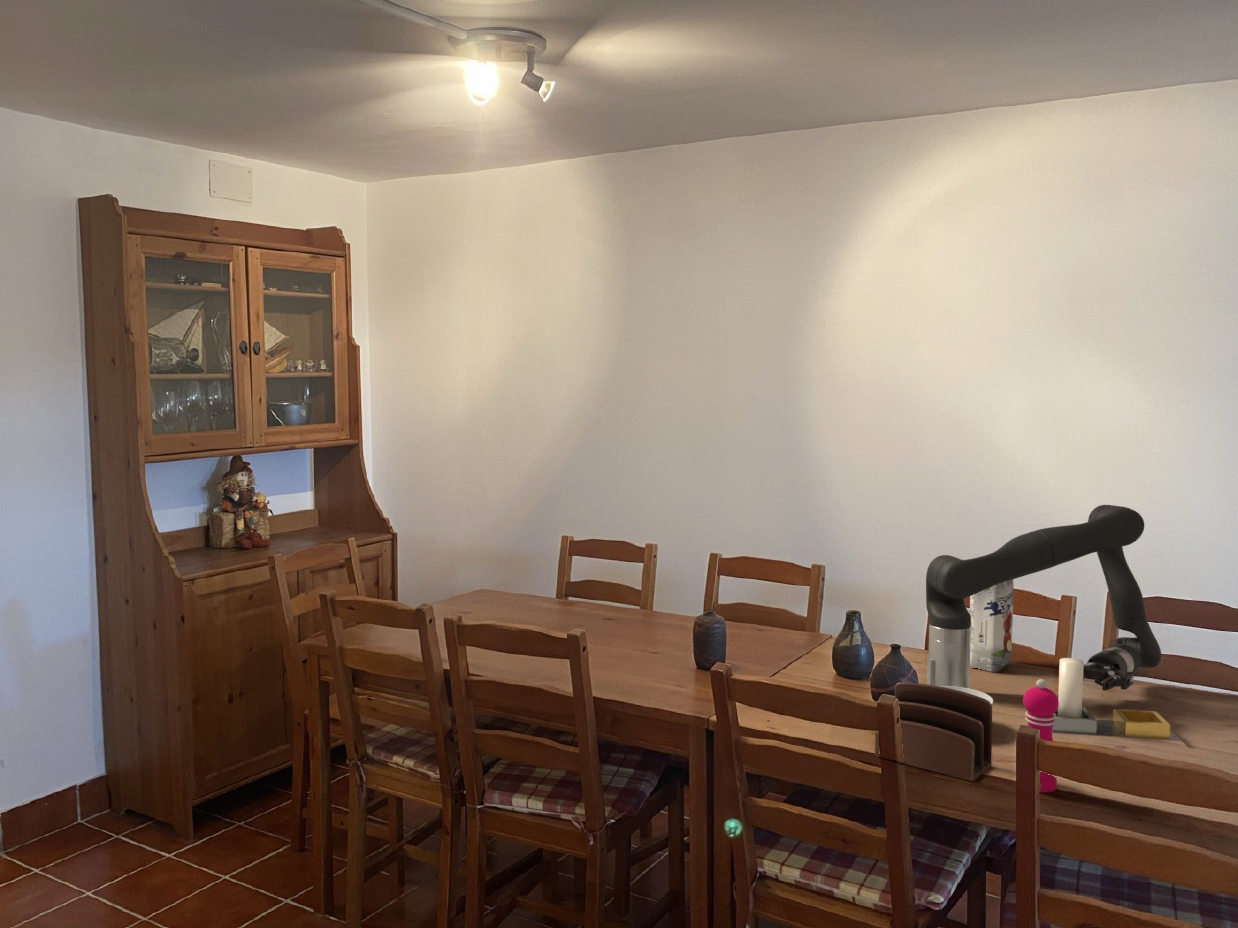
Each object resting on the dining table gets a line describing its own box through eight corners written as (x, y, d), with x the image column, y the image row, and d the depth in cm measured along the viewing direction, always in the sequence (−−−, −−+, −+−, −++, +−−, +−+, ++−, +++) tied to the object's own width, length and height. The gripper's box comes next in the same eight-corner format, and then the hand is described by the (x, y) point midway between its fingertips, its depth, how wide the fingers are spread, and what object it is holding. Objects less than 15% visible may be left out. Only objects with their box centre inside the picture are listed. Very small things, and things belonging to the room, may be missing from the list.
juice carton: (964, 668, 253) (967, 565, 251) (979, 659, 261) (982, 559, 259) (999, 674, 248) (1002, 569, 245) (1014, 665, 256) (1017, 563, 253)
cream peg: (1060, 728, 206) (1062, 663, 205) (1055, 721, 211) (1057, 657, 209) (1083, 729, 205) (1086, 664, 204) (1077, 722, 210) (1080, 658, 209)
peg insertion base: (1044, 737, 204) (1045, 718, 204) (1033, 721, 214) (1034, 703, 214) (1180, 745, 199) (1181, 726, 199) (1162, 728, 209) (1163, 710, 209)
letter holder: (895, 743, 202) (896, 676, 201) (992, 767, 189) (994, 695, 188) (873, 757, 194) (874, 687, 193) (973, 783, 182) (975, 709, 181)
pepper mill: (1009, 778, 183) (1012, 674, 182) (1046, 777, 184) (1050, 672, 182) (1028, 794, 176) (1032, 686, 174) (1067, 793, 177) (1071, 684, 175)
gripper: (1079, 644, 228) (1050, 657, 217) (1145, 656, 218) (1119, 671, 207) (1077, 675, 229) (1049, 691, 218) (1143, 689, 219) (1117, 706, 207)
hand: (1083, 681), depth 212 cm, fingers open, 8 cm apart
